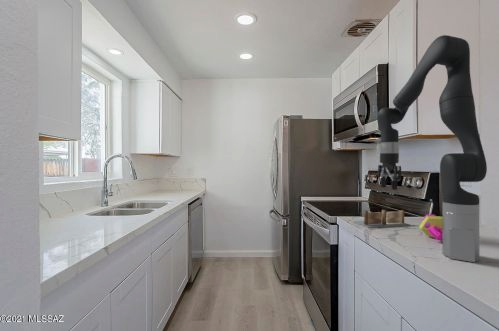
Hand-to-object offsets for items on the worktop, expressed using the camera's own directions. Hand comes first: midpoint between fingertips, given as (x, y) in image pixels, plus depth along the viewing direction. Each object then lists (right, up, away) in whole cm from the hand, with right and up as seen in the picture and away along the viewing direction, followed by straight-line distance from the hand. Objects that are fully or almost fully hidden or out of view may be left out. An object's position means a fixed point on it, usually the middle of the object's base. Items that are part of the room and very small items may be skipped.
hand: (388, 188), depth 118 cm
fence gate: (-3, -18, +9) cm, 20 cm away
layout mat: (+3, -19, +13) cm, 24 cm away
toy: (+12, -19, -13) cm, 26 cm away
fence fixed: (+8, -19, +11) cm, 24 cm away
